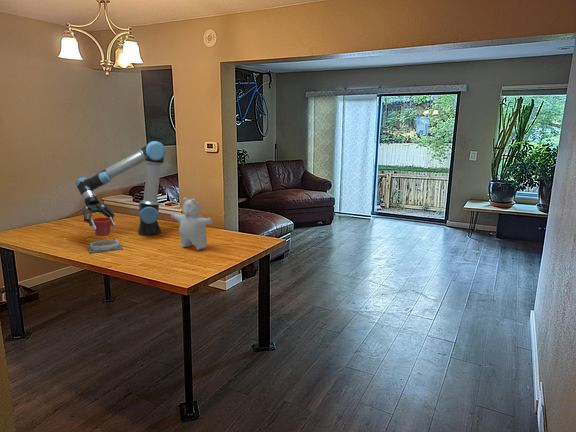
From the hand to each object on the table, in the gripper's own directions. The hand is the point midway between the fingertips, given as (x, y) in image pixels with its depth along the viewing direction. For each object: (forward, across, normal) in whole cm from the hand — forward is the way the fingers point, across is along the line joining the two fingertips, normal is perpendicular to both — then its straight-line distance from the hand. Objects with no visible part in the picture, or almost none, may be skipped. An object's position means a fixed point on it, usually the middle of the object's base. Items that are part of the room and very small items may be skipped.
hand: (104, 228), depth 241 cm
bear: (+35, -36, +17) cm, 53 cm away
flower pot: (+1, 0, -5) cm, 6 cm away
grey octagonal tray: (+7, 0, -11) cm, 13 cm away
